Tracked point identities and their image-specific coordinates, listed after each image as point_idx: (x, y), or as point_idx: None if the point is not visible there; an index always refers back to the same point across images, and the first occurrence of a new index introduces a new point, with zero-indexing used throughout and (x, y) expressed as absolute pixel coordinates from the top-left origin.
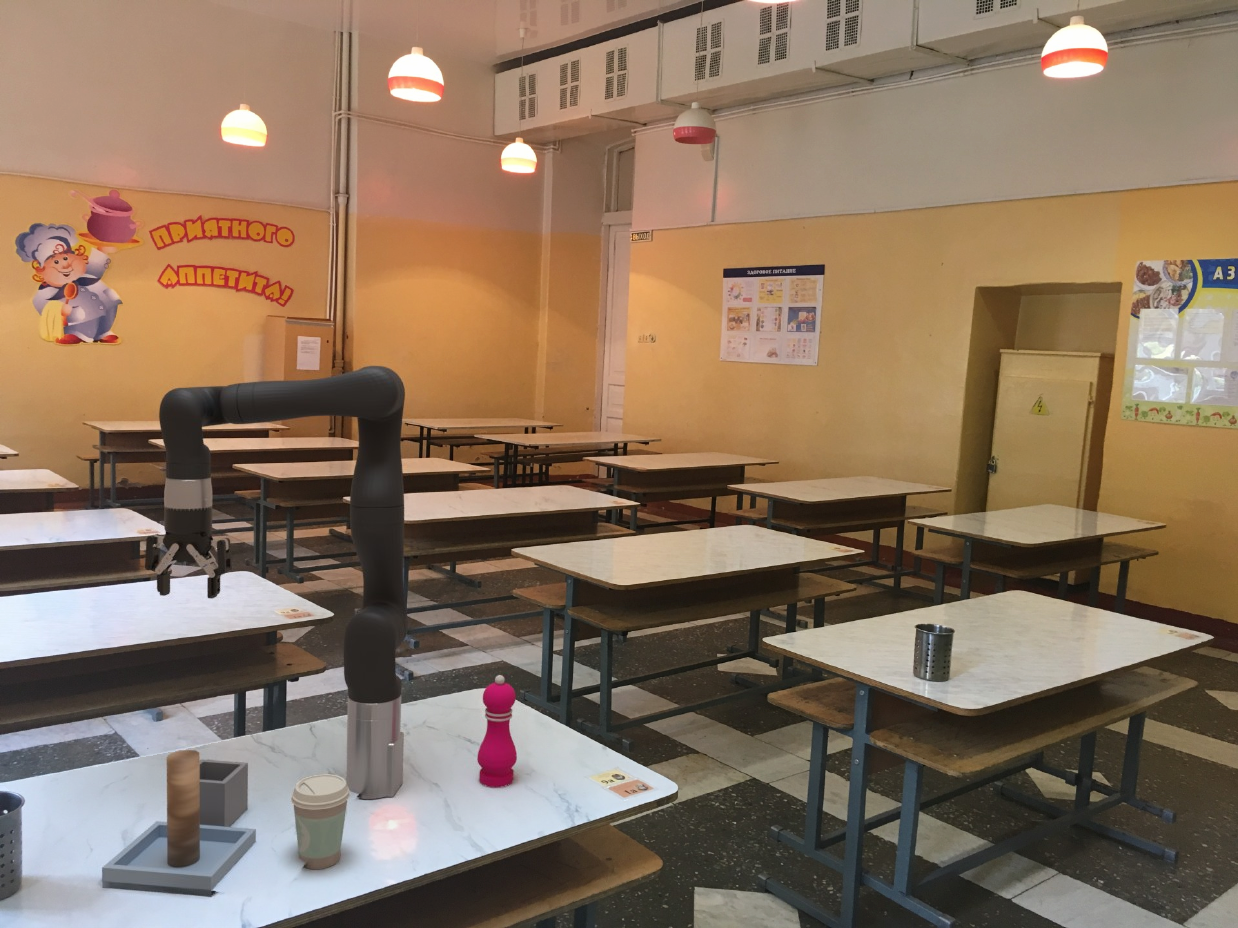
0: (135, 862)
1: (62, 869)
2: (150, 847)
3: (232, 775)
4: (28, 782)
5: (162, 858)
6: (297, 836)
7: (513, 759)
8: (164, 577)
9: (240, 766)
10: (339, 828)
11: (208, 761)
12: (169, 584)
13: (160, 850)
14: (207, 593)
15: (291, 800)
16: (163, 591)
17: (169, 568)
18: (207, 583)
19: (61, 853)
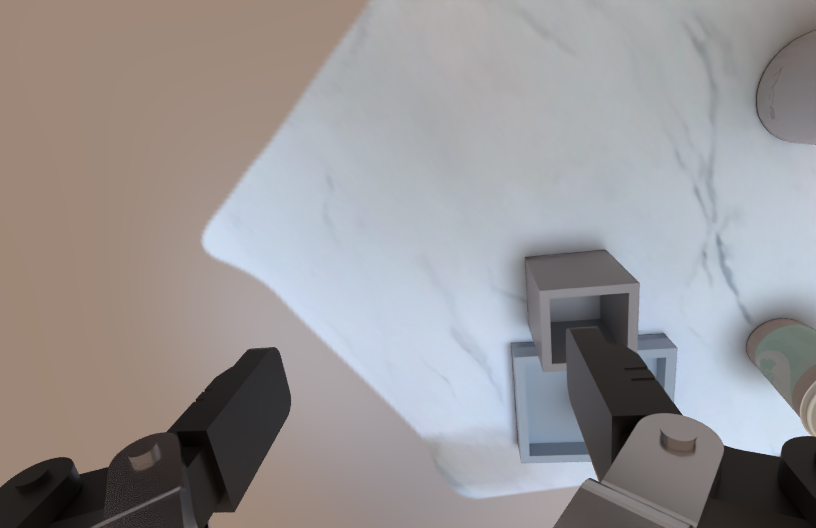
0: (531, 412)
1: (445, 421)
2: (527, 379)
3: (634, 336)
4: (210, 240)
5: (560, 399)
6: (774, 387)
7: None
8: (239, 481)
9: (632, 300)
10: None
11: (558, 296)
12: (254, 382)
13: (545, 383)
14: (575, 415)
15: (804, 426)
16: (282, 423)
17: (183, 461)
18: (595, 469)
19: (417, 394)
